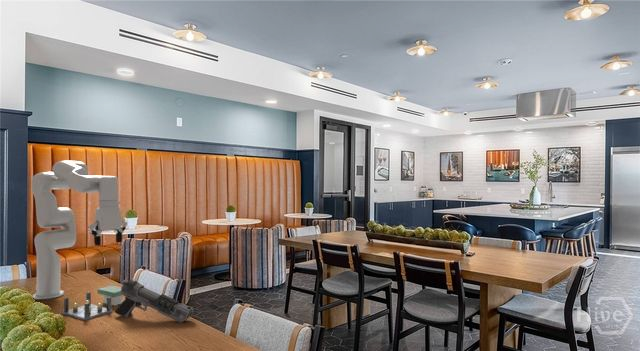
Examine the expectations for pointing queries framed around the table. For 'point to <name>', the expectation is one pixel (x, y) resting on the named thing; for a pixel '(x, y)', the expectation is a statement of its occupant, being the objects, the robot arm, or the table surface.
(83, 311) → the chassis
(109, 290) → the board
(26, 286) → the table surface
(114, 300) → the riser
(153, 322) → the table surface
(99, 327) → the table surface
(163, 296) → the firearm
